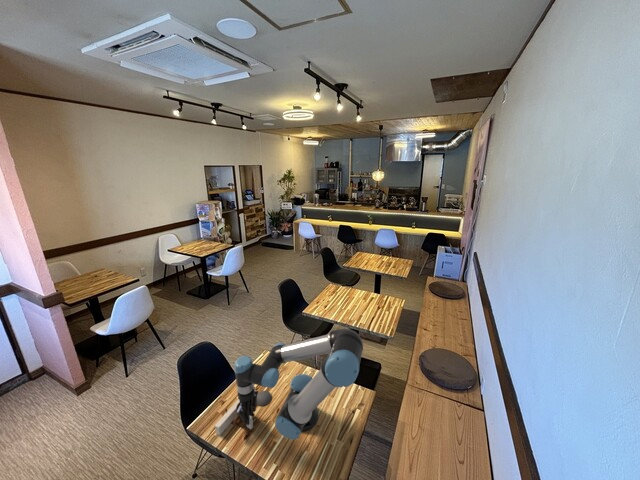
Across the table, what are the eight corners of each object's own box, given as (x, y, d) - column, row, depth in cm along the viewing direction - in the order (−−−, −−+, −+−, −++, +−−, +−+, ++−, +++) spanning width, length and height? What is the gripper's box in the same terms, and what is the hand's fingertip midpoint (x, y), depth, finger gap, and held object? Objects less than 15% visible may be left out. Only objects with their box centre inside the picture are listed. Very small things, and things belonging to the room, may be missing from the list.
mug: (242, 438, 120) (240, 423, 117) (228, 433, 122) (226, 418, 119) (256, 415, 131) (255, 401, 128) (243, 411, 133) (242, 397, 130)
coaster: (274, 395, 142) (274, 394, 142) (264, 408, 134) (264, 407, 134) (261, 389, 146) (261, 388, 146) (250, 401, 138) (250, 400, 138)
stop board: (251, 398, 140) (250, 391, 138) (219, 435, 121) (218, 427, 120) (247, 397, 141) (247, 389, 140) (215, 433, 122) (214, 425, 121)
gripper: (249, 375, 124) (252, 412, 131) (229, 396, 113) (234, 435, 120) (261, 380, 121) (264, 418, 128) (242, 403, 110) (246, 443, 117)
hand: (249, 426), depth 124 cm, fingers closed
